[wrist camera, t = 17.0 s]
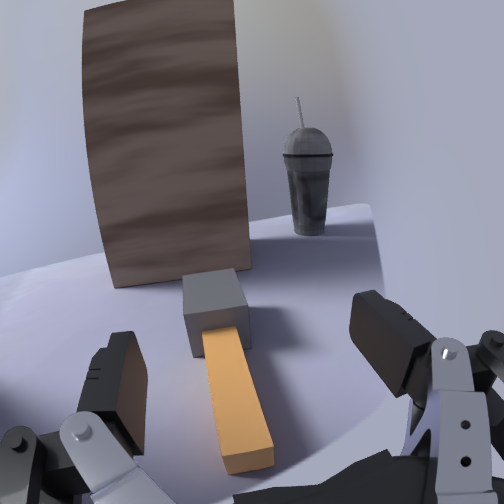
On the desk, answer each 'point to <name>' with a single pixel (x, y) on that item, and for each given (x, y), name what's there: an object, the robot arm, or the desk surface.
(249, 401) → the mallet
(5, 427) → the desk surface
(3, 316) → the desk surface
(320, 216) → the beverage cup
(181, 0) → the brown wooden tall block
